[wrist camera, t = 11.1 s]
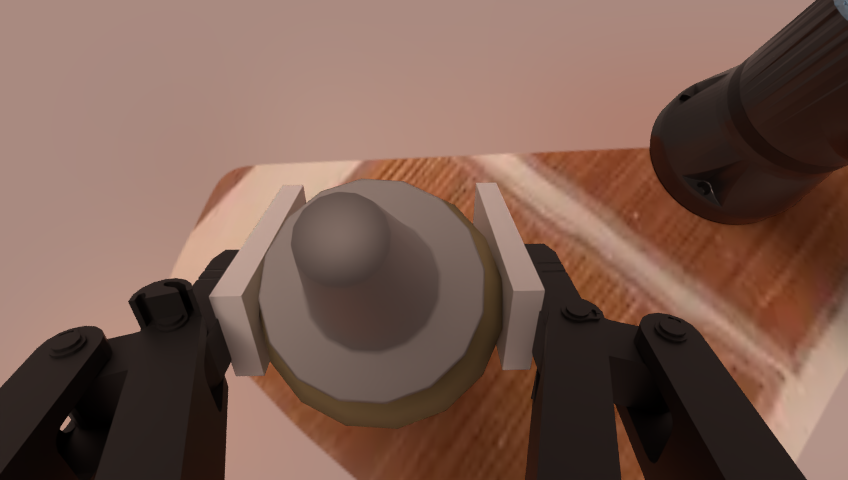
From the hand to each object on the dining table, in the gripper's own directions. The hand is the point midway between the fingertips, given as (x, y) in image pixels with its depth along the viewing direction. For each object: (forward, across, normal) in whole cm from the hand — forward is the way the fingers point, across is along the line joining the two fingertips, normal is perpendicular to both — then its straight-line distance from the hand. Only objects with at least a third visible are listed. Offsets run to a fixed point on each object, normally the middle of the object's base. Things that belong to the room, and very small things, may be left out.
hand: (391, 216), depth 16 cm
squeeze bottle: (+3, 0, -8) cm, 8 cm away
